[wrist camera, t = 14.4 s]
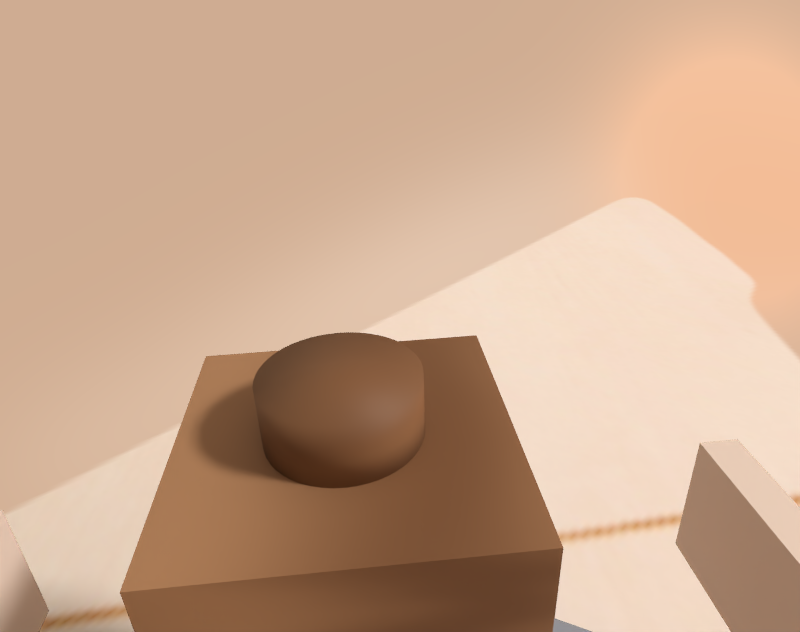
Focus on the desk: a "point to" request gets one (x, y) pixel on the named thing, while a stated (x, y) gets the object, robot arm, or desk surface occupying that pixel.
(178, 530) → the pillar
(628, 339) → the desk surface
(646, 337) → the desk surface
